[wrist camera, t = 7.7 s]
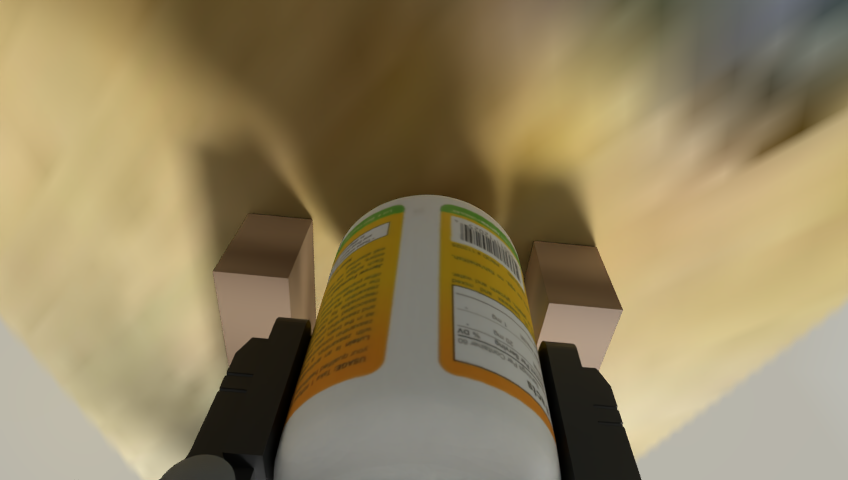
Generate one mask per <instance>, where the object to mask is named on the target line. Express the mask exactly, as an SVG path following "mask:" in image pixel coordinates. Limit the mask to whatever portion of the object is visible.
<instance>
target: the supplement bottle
mask: <svg viewBox="0 0 848 480" xmlns="http://www.w3.org/2000/svg"><path fill="white" fill-rule="evenodd" d="M273 480H561V471H560V464H559V457H558V451H557V446H556V440H555V435H554V431H553V425H552V421H551V416H550V411H549V406H548V401H547V396H546V391H545V386H544V381H543V376H542V371H541V365H540V360H539V355H538V350H537V345H536V340H535V335H534V330H533V324H532V319H531V314H530V309H529V304H528V299H527V294H526V290H525V284H524V279H523V274H522V270H521V266H520V262H519V258H518V254H517V252H516V250H515V247H514V245H513V243H512V241H511V239H510V238H509V236H508V235H507V233H506V232H505V230H504V229H503V228H502V227H501V226H500V225H499V224H498V222H497V221H495V220H494V219H493V218H492V217H491V216H490V215H488V214H487V213H485V212H484V211H482V210H481V209H479V208H477V207H475V206H473V205H471V204H469V203H467V202H464V201H462V200H459V199H455V198H451V197H446V196H440V195H414V196H407V197H403V198H399V199H395V200H392V201H389V202H386V203H384V204H382V205H380V206H378V207H376V208H374V209H372V210H371V211H369V212H368V213H366V214H365V215H364V216H362V217H361V218H360V219H359V220H358V221H357V222H355V224H354V225H353V226H352V227H351V228H350V229H349V231H348V232H347V234H346V235H345V237H344V238H343V240H342V242H341V244H340V247H339V249H338V252H337V254H336V257H335V260H334V263H333V266H332V270H331V273H330V276H329V280H328V283H327V287H326V290H325V293H324V296H323V299H322V303H321V306H320V309H319V313H318V316H317V319H316V323H315V326H314V329H313V332H312V336H311V339H310V342H309V346H308V349H307V352H306V355H305V359H304V362H303V365H302V368H301V371H300V375H299V378H298V381H297V384H296V388H295V391H294V394H293V397H292V400H291V404H290V407H289V410H288V414H287V417H286V420H285V424H284V427H283V431H282V434H281V438H280V442H279V446H278V450H277V454H276V458H275V463H274V475H273Z"/></svg>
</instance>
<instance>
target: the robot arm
mask: <svg viewBox="0 0 848 480" xmlns="http://www.w3.org/2000/svg"><path fill="white" fill-rule="evenodd" d="M311 336H312V333H311V322H310V320H308V319H296V318H285V317H278V318H277V319H276V321H275V323H274V325H273V328H272V330H271V333H270V335H269V338H268V339H266V338H255V337H252V338H251V339H250V340H249V341H248V342H247V343H246V344H245V345H243V346H242V347H241V348H240V349H239V350H238V351H237V352H236V353H235V355H234V357H233V360H232V362H231V364H230V366H229V368H228V370H227V375H226V376H225V377H224V379H223V381H222V383H221V386H220V390H219V391H218V392H217V394H216V396H215V399H214V401H213V403H212V405H211V407H210V409H209V412H208V414H207V416H206V418H205V420H204V422H203V425H202V427H201V429H200V431H199V433H198V435H197V438H196V440H195V442H194V444H193V446H192V448H191V450H190V452H189V454H188V455H187V457H186V458H185V459H184V460H182V461H180V462H179V463H177V464H175V465H174V466H173V467H171V468H170V469H169V470H168V471H167V472H166V473H165V474H164V475H163V476H162V478H161V479H159V480H273V475H274V463H275V458H276V454H277V450H278V446H279V442H280V438H281V434H282V431H283V427H284V424H285V420H286V417H287V414H288V410H289V407H290V404H291V400H292V397H293V394H294V391H295V388H296V384H297V381H298V378H299V375H300V371H301V368H302V365H303V362H304V359H305V355H306V352H307V349H308V346H309V342H310V339H311ZM538 355H539V360H540V365H541V371H542V376H543V381H544V386H545V391H546V396H547V401H548V406H549V411H550V416H551V421H552V425H553V431H554V435H555V440H556V446H557V451H558V457H559V464H560V471H561V480H641V477H640V474H639V471H638V468H637V465H636V462H635V459H634V456H633V453H632V450H631V447H630V443H629V440H628V437H627V434H626V431H625V428H624V427H623V425H622V424H623V422H622V419H621V416H620V413H619V410H617V404H616V401H615V398H614V395H613V392H612V389H611V386H610V385H609V384H608V382H607V381H606V380H605V379H604V377H603V376H602V375H601V374H600V372H599V371H598V370H597V369H596V368H589V367H582V364H581V361H580V357H579V354H578V350H577V347H576V345H575V344H572V343H561V342H550V341H542V342H541V344H540V346H539V349H538Z"/></svg>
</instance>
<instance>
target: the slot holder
mask: <svg viewBox="0 0 848 480" xmlns="http://www.w3.org/2000/svg"><path fill="white" fill-rule="evenodd" d="M213 276H214V282H215V288H216V293H217V299H218V305H219V311H220V317H221V323H222V329H223V335H224V341H225V347H226V352H227V358H228V364H229V366H230V364H231V362H232V360H233V357H234V355H235V353H236V352H237V351H238V350H239V349H240V348H241V347H242V346H243V345H245V344H246V343H247V342H248V341H249V340H250V339H251V338H252V337H255V338H266V339H268V338H269V335H270V333H271V330H272V328H273V325H274V323H275V321H276V319H277V318H278V317H285V318H296V319H308V320H310V322H311V333H312V332H313V329H314V326H315V323H316V308H315V278H314V248H313V220H311V219H301V218H290V217H280V216H270V215H259V214H248V215H247V217H246V219H245V220H244V222H243V223H242V225H241V227H240V228H239V230H238V231H237V233H236V235H235V236H234V238H233V240H232V241H231V243H230V244H229V246H228V248H227V249H226V251H225V252H224V254H223V256H222V257H221V259H220V261H219V262H218V264H217V265H216V267H215V269H214V270H213ZM524 284H525V290H526V294H527V299H528V304H529V309H530V314H531V319H532V324H533V330H534V335H535V340H536V345H537V350H538V349H539V346H540V344H541V342H542V341H550V342H561V343H572V344H575V345H576V347H577V350H578V354H579V357H580V361H581V364H582V367H589V368H596V369H597V370H598V371H599V369H600V366H601V364H602V361H603V359H604V356H605V354H606V351H607V349H608V346H609V344H610V341H611V339H612V336H613V334H614V331H615V329H616V326H617V324H618V321H619V319H620V316H621V314H622V311H623V309H622V307H621V304H620V302H619V300H618V297H617V295H616V292H615V290H614V288H613V285H612V283H611V280H610V278H609V276H608V273H607V271H606V268H605V266H604V264H603V261H602V259H601V257H600V254H599V252H598V249H597V247H591V246H580V245H570V244H560V243H549V242H539V241H534V243H533V247H532V251H531V255H530V259H529V263H528V267H527V271H526V275H525V279H524Z"/></svg>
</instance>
